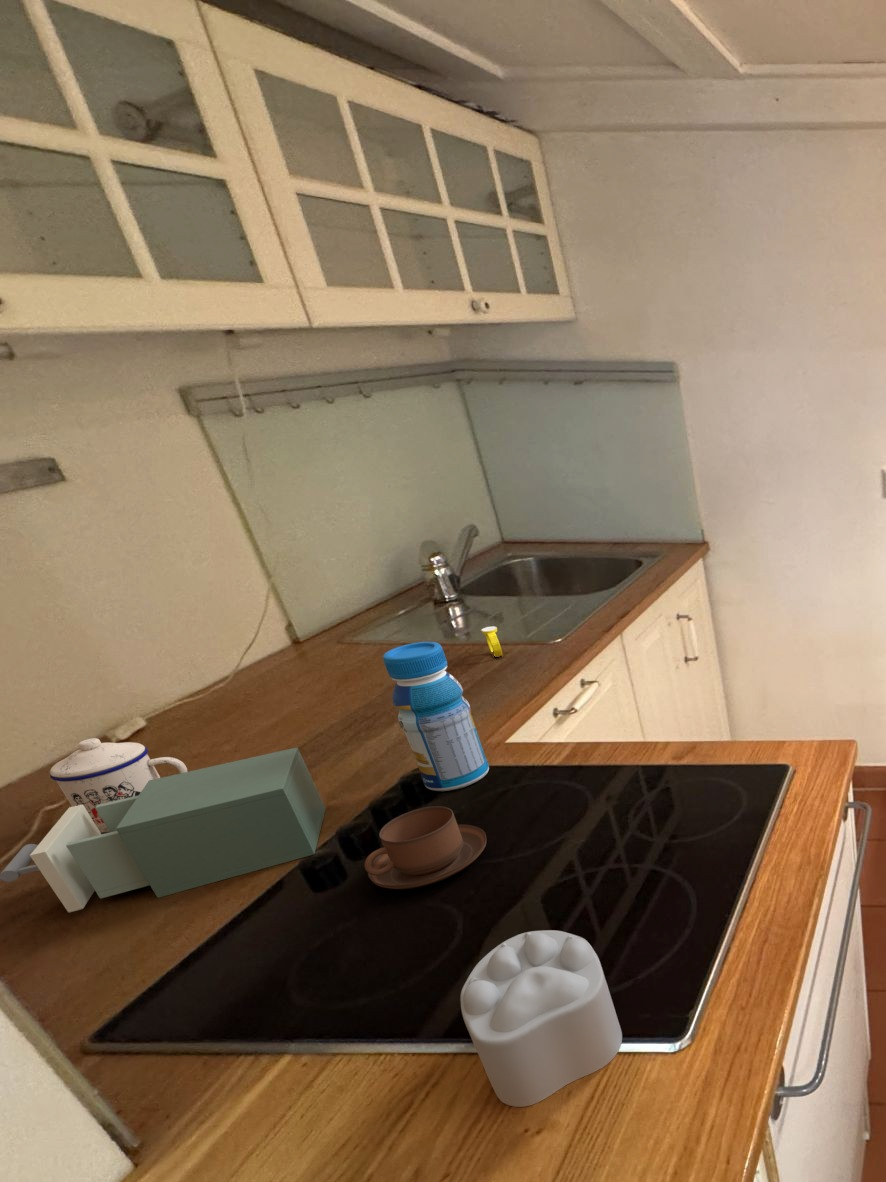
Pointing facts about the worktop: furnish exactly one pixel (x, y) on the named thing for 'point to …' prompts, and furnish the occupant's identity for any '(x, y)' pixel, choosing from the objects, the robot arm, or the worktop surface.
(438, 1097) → the worktop surface
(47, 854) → the drawer
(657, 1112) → the worktop surface
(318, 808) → the cabinet
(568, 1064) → the lumpy-topped squat cylinder
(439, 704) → the beverage bottle
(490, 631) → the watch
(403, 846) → the cup and saucer
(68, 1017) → the worktop surface
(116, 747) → the teacup with lid
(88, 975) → the worktop surface
